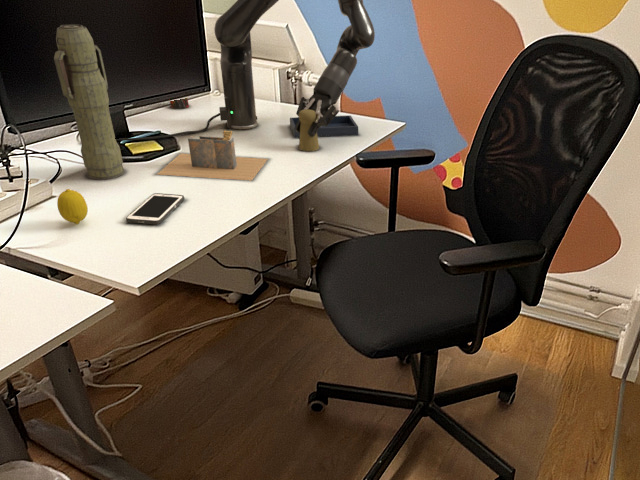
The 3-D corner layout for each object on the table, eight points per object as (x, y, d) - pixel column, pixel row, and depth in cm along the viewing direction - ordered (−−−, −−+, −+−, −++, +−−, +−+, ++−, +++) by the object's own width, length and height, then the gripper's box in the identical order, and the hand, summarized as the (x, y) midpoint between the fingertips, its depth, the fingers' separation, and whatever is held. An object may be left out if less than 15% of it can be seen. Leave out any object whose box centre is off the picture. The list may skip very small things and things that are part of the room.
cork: (296, 145, 178) (294, 108, 172) (315, 143, 180) (314, 106, 174) (302, 152, 174) (300, 113, 168) (322, 149, 176) (320, 112, 170)
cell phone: (124, 222, 131) (124, 218, 130) (154, 196, 143) (153, 192, 142) (159, 225, 130) (158, 221, 130) (185, 198, 143) (185, 195, 142)
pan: (294, 138, 184) (294, 129, 183) (290, 125, 195) (289, 117, 193) (358, 135, 189) (358, 126, 188) (350, 123, 199) (350, 115, 198)
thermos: (74, 178, 151) (34, 27, 132) (107, 163, 160) (74, 21, 141) (104, 184, 148) (67, 31, 130) (135, 168, 158) (105, 24, 139)
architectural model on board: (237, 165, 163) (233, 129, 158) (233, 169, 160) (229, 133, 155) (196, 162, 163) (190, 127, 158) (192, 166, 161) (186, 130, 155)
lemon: (95, 218, 132) (86, 184, 128) (85, 229, 127) (75, 194, 123) (69, 218, 132) (60, 183, 127) (58, 229, 127) (48, 194, 123)
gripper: (307, 71, 175) (279, 121, 174) (343, 80, 168) (314, 131, 166) (321, 87, 182) (293, 135, 180) (356, 96, 174) (327, 146, 173)
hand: (303, 133), depth 173 cm, fingers closed on cork, 4 cm apart
